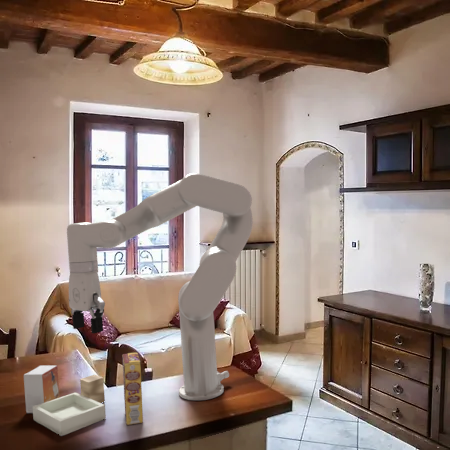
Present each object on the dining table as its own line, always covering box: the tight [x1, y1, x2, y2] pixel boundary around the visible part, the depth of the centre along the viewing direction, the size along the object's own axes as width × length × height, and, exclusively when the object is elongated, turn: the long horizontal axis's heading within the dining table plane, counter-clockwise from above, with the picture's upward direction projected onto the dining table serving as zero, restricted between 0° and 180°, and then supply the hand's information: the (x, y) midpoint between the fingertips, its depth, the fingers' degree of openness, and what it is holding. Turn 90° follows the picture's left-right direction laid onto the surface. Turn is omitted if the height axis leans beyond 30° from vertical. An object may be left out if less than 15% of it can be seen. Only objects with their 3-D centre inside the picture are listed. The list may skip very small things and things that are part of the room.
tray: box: [32, 392, 107, 437], centre depth 124 cm, size 12×15×4 cm
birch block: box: [79, 374, 106, 403], centre depth 134 cm, size 4×4×7 cm
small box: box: [23, 365, 60, 414], centre depth 133 cm, size 8×6×10 cm
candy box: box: [121, 352, 144, 426], centre depth 123 cm, size 9×4×15 cm, turn 14°
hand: (87, 330), depth 134 cm, fingers open, 9 cm apart
